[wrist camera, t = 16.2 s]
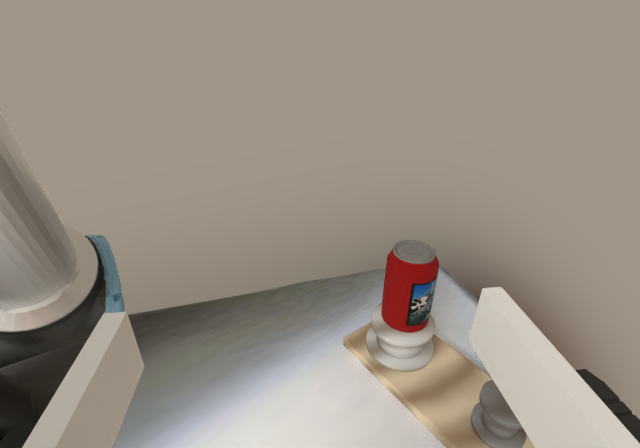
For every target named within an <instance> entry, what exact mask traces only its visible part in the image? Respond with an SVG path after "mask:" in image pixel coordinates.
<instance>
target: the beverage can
mask: <svg viewBox="0 0 640 448" xmlns="http://www.w3.org/2000/svg"><path fill="white" fill-rule="evenodd" d="M435 254H436V253H435V250H434V249H433V248H432V247H431V246H430V245H428V244H426V243H424V242H421V241H416V240H404V241H400V242H398V243H396V244H395V246H394V248H393V249H392V251H391V252H390V253H389V255H388V257H387V264H386V272H385V281H384V290H383V300H382V311H381V315H382V318H383V320H384V322H385V323H386V324H387V325H388V326H390V327H391V328H393V329H395V330H397V331H401V332H406V333H413V332H418V331H420V330H422V329H424V328H425V327H426V326H427V324H428V320H429V316H430V311H431V306H432V301H433V296H434V291H435V286H436V280H437V275H438V269H439V262H438V259H437V257H436V255H435Z"/></svg>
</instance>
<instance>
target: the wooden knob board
mask: <svg viewBox="0 0 640 448" xmlns="http://www.w3.org/2000/svg"><path fill="white" fill-rule="evenodd" d="M381 311H382V303H381V304H379V305H378V306H376V308H375V309H374V310H373V313H372V319H371V323H369V324H368V325H366V326H364V327H362V328H360V329H359V330H357V331H355V332H353V333H351V334H350V335H348V336H346V337H344V342H343V345H344V346H345V347H346V348H347V349H348V350H349V351H350V352H351V353H352V354H353V355H354V356H355V357H356V358H357V359H358V360H359V361H360V362H361V363H362V364H363V365H364V366H365V367H366V368H367V369H368V370H369V371H370V372H371V373H372V374H373V375H374V376H375V377H376V378H377V379H378V380H379V381H380V382H381V383H382V384H383V385H385V386H386V387H387V388H388V389H389V390H390V391H391V392H392V393H393V394H394V395H395V396H396V397H397V398H398V399H399V400H400V401H401V402H402V403H403V404H404V405H405V406H406V407H407V408H408V409H409V410H410V411H411V412H412V413H413V414H414V415H415V416H416V417H417V418H418V419H419V420H420V421H421V422H422V423H423V424H424V425H425V426H426V427H427V428H428V429H429V430H430V431H431V432H432V433H433V434H434V435H435V436H436V437H437V438H438V439H439V440H440V441H441V442H442V443H443V444H444V445H445V446H446V447H447V448H535V446H534V445H533V443H532V442H531V440H530V438H529V437H528V435H527V434H526V432H525V430H524V429H523V427H522V426H521V424H520V422H519V421H518V419H517V418H516V416H515V414H514V413H513V411H512V410H511V408H510V406H509V405H508V403H507V402H506V400H505V398H504V397H503V395H502V394H501V392H500V390H499V389H498V387H497V386H496V384H495V382H494V381H493V379H492V378H491V377H490V376H488V375H487V374H486V373H484V372H483V371H482V370H480V369H479V368H478V367H476V366H475V365H474V364H472V363H471V362H470V361H468V360H467V359H466V358H464V357H463V356H462V355H460V354H459V353H458V352H456V351H455V350H454V349H452V348H451V347H450V346H448V345H447V344H445V343H444V342H443V341H441V340H440V339H439V338H437V337H436V336H435V335H433V333H434V328H435V324H434V320H433V318H432V316H431V315H430V316H429V320H428V324H427V326H426V327H425V328H424V329H422V330H420V331H418V332H413V333H406V332H401V331H397V330H395V329H393V328H391V327H390V326H388V325H387V324H386V323H385V322H384V320H383V318H382V315H381Z"/></svg>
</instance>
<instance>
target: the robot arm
mask: <svg viewBox="0 0 640 448" xmlns="http://www.w3.org/2000/svg"><path fill="white" fill-rule="evenodd" d="M88 337H89V338H88ZM85 338H88V340H87V342H86V343H85V345H84V347H83V348H82V350H81V351H80V353H79V355H78V356H77V358H76V360H75V361H74V363H73V365H72V366H71V368H70V370H69V371H68V373H67V375H66V376H65V378H64V380H63V381H62V383H61V384H60V386H59V388H58V389H57V391H56V393H55V394H54V396H53V398H52V399H51V401H50V403H49V404H48V406H47V408H46V409H45V411H44V412H43V414H42V416H41V417H40V419H39V421H36V416H37V408H36V404H35V402H34V400H33V399H32V397H31V395H30V393H29V392H28V390H27V389H26V388H25V387H24V386H23V385H21V384H20V383H18V382H16V381H15V380H13V379H11V378H10V377H8V376H6V375H5V374H3V373H1V372H0V448H113V446H114V443H115V440H116V438H117V435H118V433H119V430H120V428H121V425H122V422H123V420H124V417H125V415H126V412H127V410H128V407H129V405H130V402H131V399H132V397H133V394H134V392H135V389H136V387H137V384H138V381H139V379H140V376H141V374H142V371H143V369H144V364H143V361H142V358H141V355H140V351H139V348H138V345H137V342H136V339H135V336H134V333H133V330H132V326H131V323H130V320H129V317H128V314H127V312H124V302H123V297H122V293H121V284H120V280H119V275H118V271H117V267H116V263H115V260H114V256H113V253H112V250H111V248H110V245H109V243H108V241H107V240H106V239H105V237H104V236H102V235H93V236H92V235H85V236H84V235H83V234H82V233H80V232H78V231H77V230H75V229H73V228H71V227H69V226H67V225H64V224H62V223H61V221H60V219H59V217H58V216H57V214H56V212H55V210H54V208H53V206H52V204H51V202H50V201H49V199H48V197H47V195H46V193H45V191H44V190H43V188H42V186H41V184H40V182H39V180H38V178H37V176H36V175H35V173H34V171H33V169H32V167H31V165H30V163H29V161H28V159H27V157H26V156H25V154H24V152H23V150H22V148H21V146H20V144H19V143H18V141H17V139H16V137H15V135H14V133H13V131H12V129H11V127H10V126H9V124H8V122H7V120H6V118H5V116H4V115H3V112H2V111H1V109H0V368H2V367H5V366H7V365H10V364H13V363H16V362H19V361H22V360H25V359H28V358H30V357H33V356H36V355H39V354H42V353H45V352H48V351H51V350H53V349H56V348H59V347H62V346H65V345H68V344H71V343H74V342H77V341H79V340H82V339H85ZM468 341H469V342H470V344H471V346H472V347H473V349H474V350H475V352H476V354H477V355H478V357H479V358H480V360H481V362H482V363H483V365H484V366H485V368H486V370H487V371H488V373H489V374H490V376H491V378H492V379H493V381H494V382H495V384H496V386H497V387H498V389H499V390H500V392H501V394H502V395H503V397H504V398H505V400H506V402H507V403H508V405H509V406H510V408H511V410H512V411H513V413H514V414H515V416H516V418H517V419H518V421H519V422H520V424H521V426H522V427H523V429H524V430H525V432H526V434H527V435H528V437H529V438H530V440H531V442H532V443H533V445H534V446H535V448H640V420H639V419H638V418H637V417H636V416H635V415H633V414H632V411H631V410H630V409H629V408H628V407H627V406H626V405H625V404H624V403H623V402H621V401H620V400H619V398H618V396H617V395H615V393H614V392H613V391H612V390H611V389H610V388H609V387H608V386H607V385H606V384H605V383H604V382H603V381H601V380H600V379H599V378H597V377H596V376H594V375H593V374H592V373H590V372H589V371H587V370H586V369H583V370H574V369H573V368H572V366H571V365H570V364H569V363H568V362H567V361H566V360H565V358H564V357H563V356H562V355H561V354H560V353H559V352H558V351H557V349H556V348H555V347H554V346H553V345H552V344H551V343H550V341H549V340H548V339H547V338H546V337H545V336H544V335H543V334H542V333H541V331H540V330H539V329H538V328H537V327H536V326H535V325H534V323H533V322H532V321H531V320H530V319H529V318H528V317H527V316H526V314H525V313H524V312H523V311H522V310H521V309H520V308H519V306H518V305H517V304H516V303H515V302H514V301H513V300H512V299H511V297H510V296H509V295H508V294H507V293H506V292H505V291H504V289H502V287H494V288H483V289H482V292H481V296H480V299H479V303H478V307H477V310H476V314H475V317H474V321H473V325H472V328H471V332H470V335H469V339H468Z"/></svg>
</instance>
